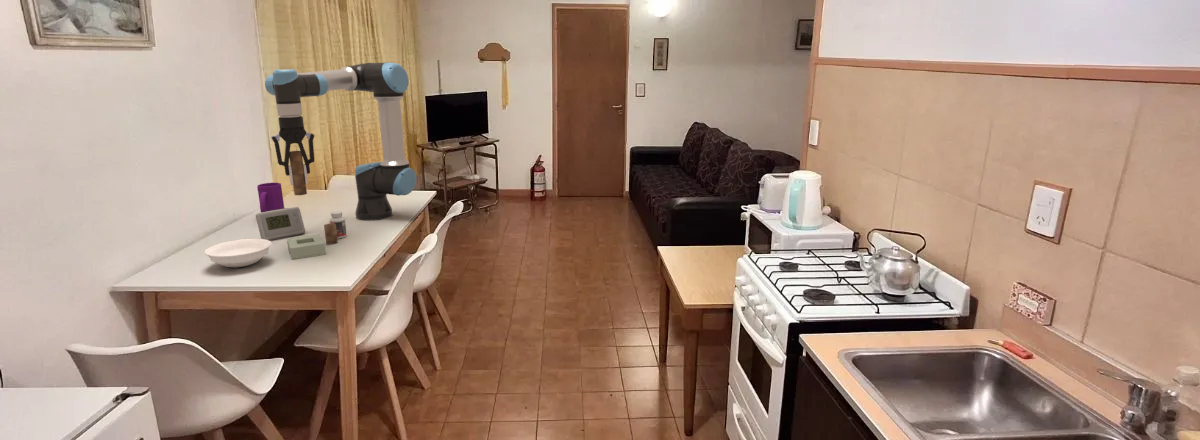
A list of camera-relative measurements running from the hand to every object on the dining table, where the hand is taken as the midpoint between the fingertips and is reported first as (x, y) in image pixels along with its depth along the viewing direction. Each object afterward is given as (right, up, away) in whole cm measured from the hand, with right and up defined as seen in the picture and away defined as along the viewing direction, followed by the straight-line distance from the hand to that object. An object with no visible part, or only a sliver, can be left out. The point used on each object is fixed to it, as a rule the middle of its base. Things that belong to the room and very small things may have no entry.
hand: (299, 183), depth 222 cm
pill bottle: (+4, -19, +24) cm, 31 cm away
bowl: (-16, -28, -7) cm, 33 cm away
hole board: (0, -24, +6) cm, 25 cm away
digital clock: (-18, -20, +25) cm, 37 cm away
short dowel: (+4, -21, +17) cm, 27 cm away
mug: (-35, -13, +50) cm, 63 cm away
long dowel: (0, -4, +1) cm, 4 cm away
